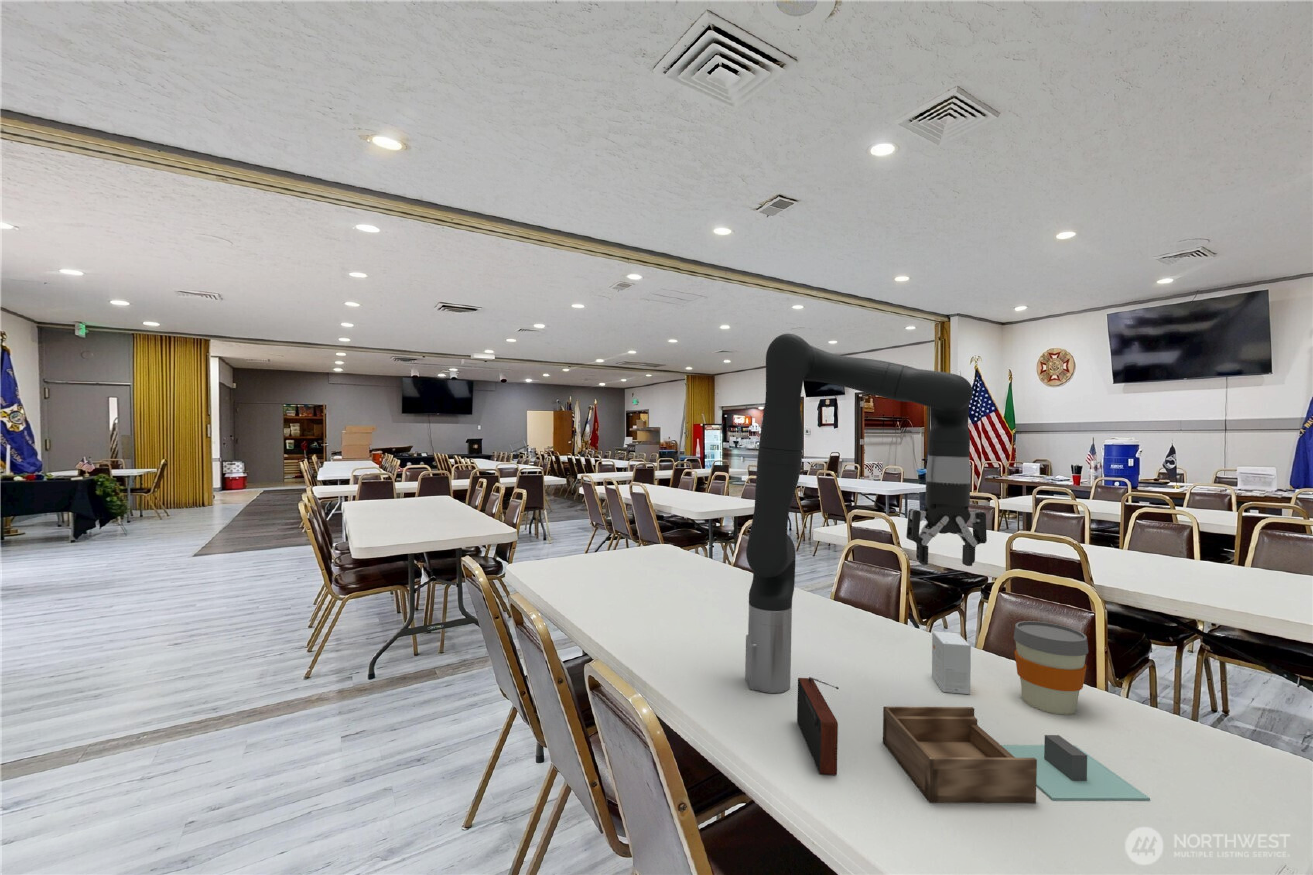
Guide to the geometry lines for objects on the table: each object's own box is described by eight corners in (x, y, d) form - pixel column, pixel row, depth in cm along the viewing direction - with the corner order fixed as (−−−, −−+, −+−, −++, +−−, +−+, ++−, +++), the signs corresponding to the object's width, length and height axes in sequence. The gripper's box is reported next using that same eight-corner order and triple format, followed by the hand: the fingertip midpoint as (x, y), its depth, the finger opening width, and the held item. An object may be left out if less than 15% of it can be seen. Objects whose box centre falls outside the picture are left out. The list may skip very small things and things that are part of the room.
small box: (970, 695, 117) (971, 645, 117) (942, 692, 118) (942, 643, 118) (958, 679, 125) (958, 632, 125) (931, 676, 126) (932, 630, 126)
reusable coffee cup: (1066, 724, 106) (1067, 645, 105) (999, 696, 117) (1000, 625, 117) (1100, 710, 111) (1101, 636, 111) (1033, 685, 122) (1035, 617, 122)
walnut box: (929, 802, 82) (930, 759, 82) (882, 742, 98) (883, 706, 98) (1036, 802, 82) (1036, 759, 82) (972, 743, 98) (972, 707, 98)
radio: (794, 722, 105) (796, 642, 105) (811, 722, 105) (812, 643, 105) (820, 783, 86) (822, 686, 86) (840, 784, 86) (842, 687, 86)
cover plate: (1052, 804, 83) (1052, 771, 83) (991, 750, 97) (992, 721, 97) (1150, 804, 83) (1150, 771, 83) (1075, 750, 98) (1075, 722, 98)
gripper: (920, 480, 102) (918, 568, 102) (997, 482, 103) (994, 570, 103) (901, 477, 110) (899, 559, 110) (972, 479, 110) (970, 561, 110)
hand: (945, 564), depth 106 cm, fingers open, 8 cm apart
